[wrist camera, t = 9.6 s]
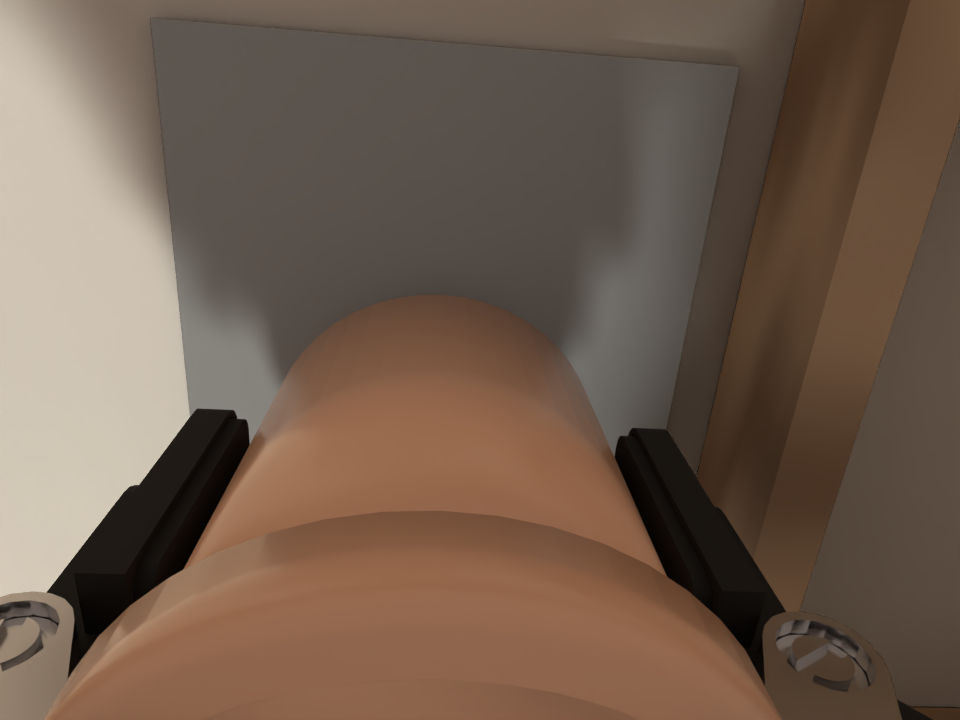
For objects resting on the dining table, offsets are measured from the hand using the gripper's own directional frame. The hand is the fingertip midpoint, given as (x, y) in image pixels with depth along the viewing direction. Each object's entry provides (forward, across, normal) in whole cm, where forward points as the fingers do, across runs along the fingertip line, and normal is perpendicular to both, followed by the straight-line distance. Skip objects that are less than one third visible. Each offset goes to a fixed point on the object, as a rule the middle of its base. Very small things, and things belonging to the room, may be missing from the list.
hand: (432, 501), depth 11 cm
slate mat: (+3, 0, 0) cm, 3 cm away
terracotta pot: (+2, 0, 0) cm, 2 cm away
